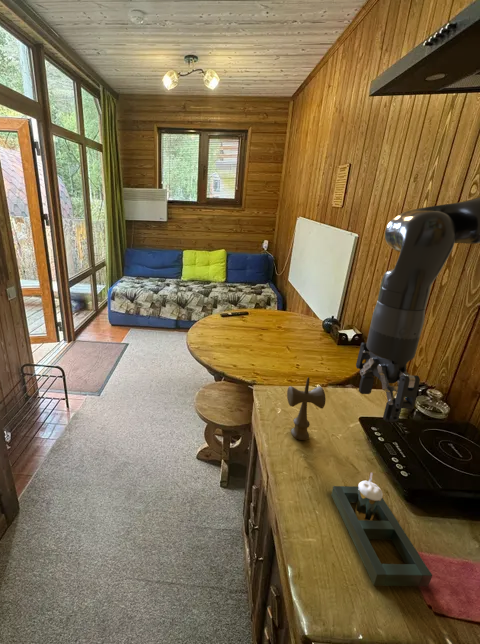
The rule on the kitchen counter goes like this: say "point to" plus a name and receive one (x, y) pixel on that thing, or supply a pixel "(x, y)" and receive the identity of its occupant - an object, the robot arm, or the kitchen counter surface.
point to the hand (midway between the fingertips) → (376, 405)
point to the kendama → (304, 407)
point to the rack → (386, 528)
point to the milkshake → (367, 499)
